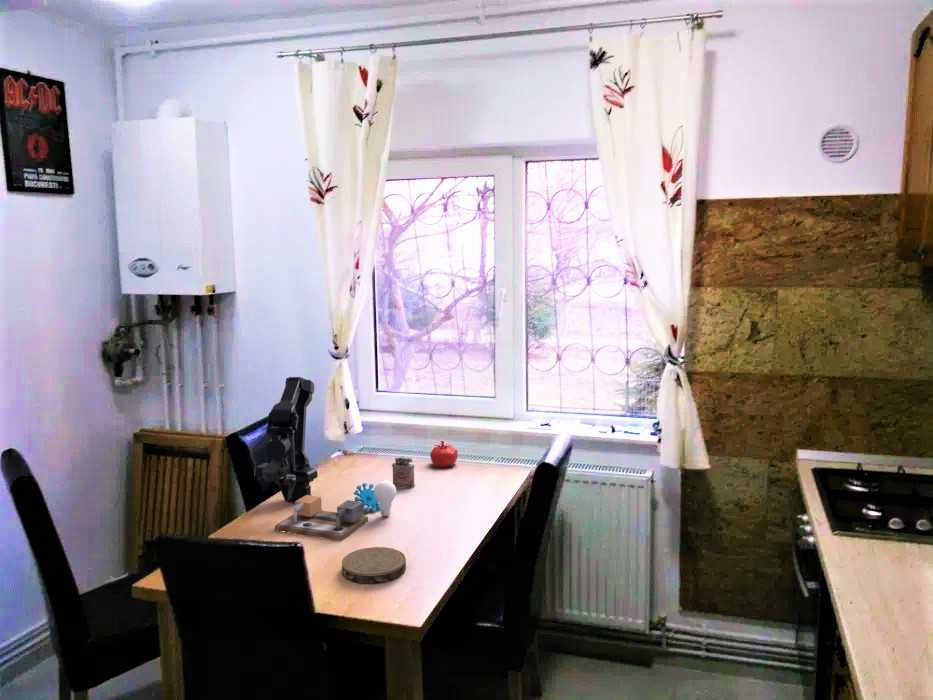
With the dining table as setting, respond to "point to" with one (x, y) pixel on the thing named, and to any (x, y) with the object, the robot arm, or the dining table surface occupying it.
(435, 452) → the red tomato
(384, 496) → the light bulb
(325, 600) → the dining table surface
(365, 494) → the gear
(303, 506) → the sliding jaw
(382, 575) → the brown round disc
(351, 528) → the base
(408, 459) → the flat bottle
